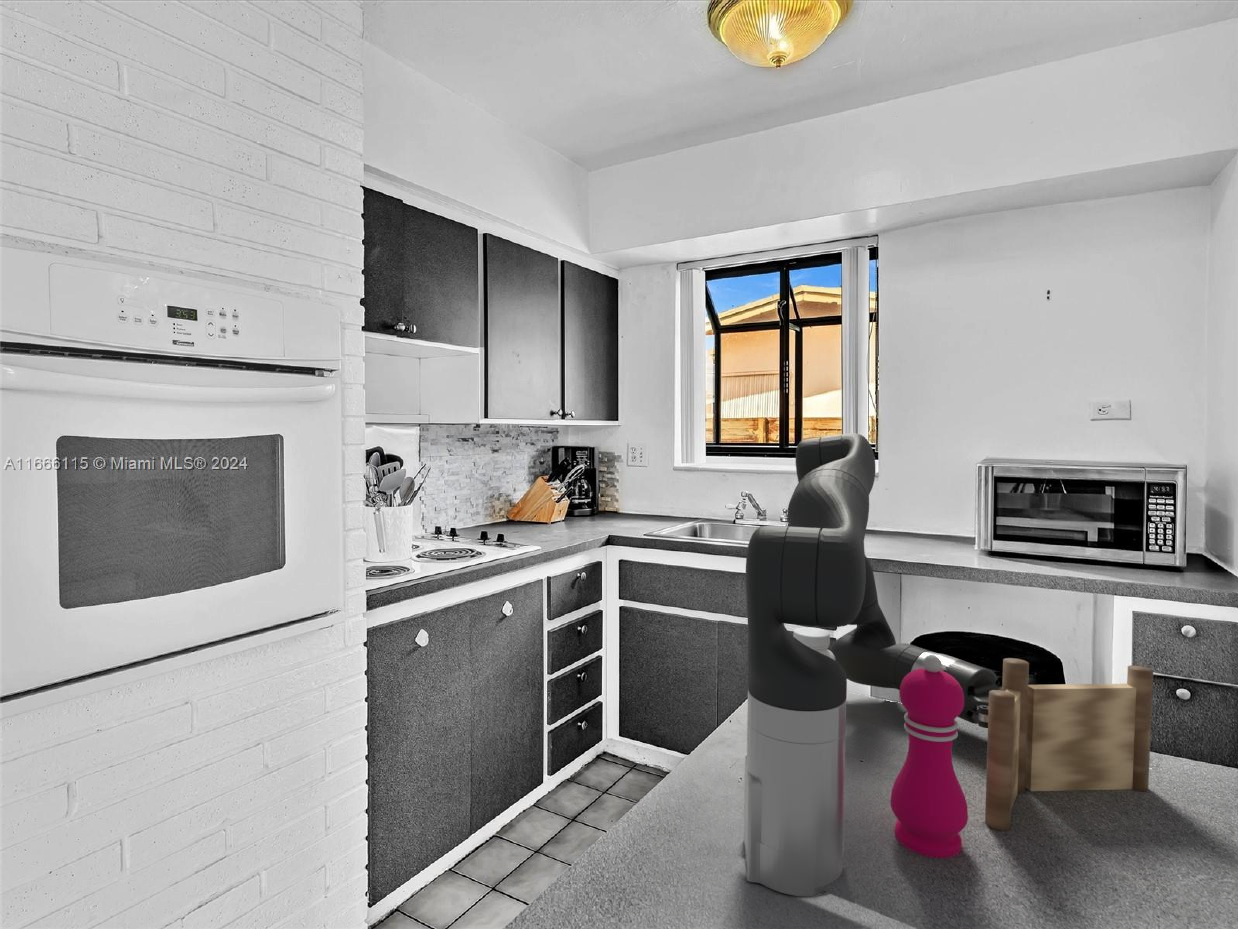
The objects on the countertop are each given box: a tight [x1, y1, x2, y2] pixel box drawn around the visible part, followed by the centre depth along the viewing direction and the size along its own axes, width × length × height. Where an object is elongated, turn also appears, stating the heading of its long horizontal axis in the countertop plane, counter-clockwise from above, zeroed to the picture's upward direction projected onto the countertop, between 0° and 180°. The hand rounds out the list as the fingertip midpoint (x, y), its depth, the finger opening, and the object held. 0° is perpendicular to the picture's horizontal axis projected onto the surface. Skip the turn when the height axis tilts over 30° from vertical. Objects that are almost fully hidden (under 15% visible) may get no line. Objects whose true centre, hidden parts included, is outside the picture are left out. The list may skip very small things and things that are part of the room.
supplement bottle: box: [792, 626, 835, 660], centre depth 106 cm, size 7×7×13 cm
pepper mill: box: [890, 655, 969, 859], centre depth 72 cm, size 7×7×20 cm
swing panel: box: [1025, 664, 1154, 792], centre depth 83 cm, size 14×2×14 cm, turn 93°
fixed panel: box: [984, 657, 1030, 832], centre depth 79 cm, size 12×3×15 cm, turn 143°
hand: (1082, 735), depth 84 cm, fingers closed
